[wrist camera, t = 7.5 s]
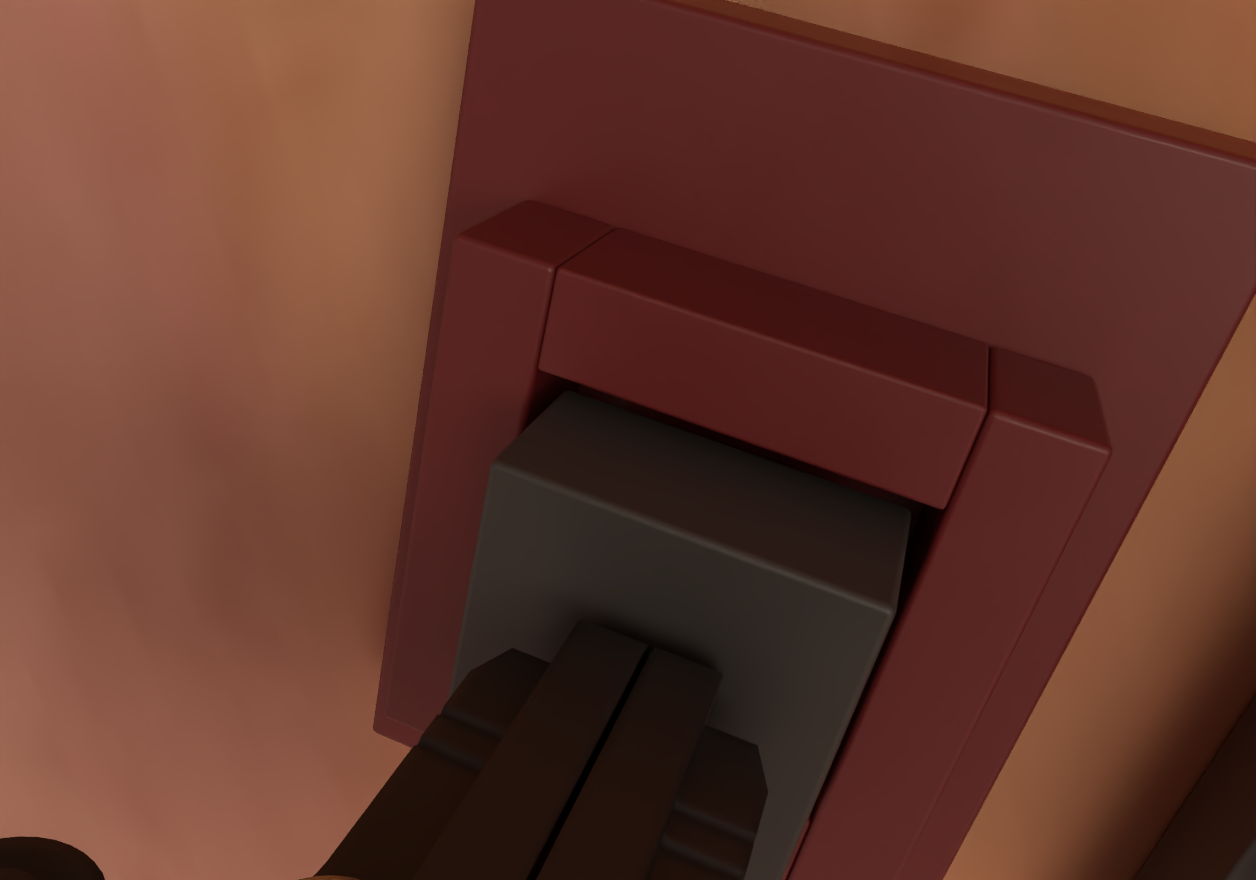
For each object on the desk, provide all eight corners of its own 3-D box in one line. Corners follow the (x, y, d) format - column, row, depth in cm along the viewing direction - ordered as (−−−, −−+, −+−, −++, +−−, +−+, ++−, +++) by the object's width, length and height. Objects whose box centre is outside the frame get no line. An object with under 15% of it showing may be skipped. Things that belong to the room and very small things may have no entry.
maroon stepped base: (546, -48, 13) (388, -55, 10) (1273, 147, 12) (1388, 220, 8) (427, 662, 19) (299, 817, 16) (911, 862, 17) (889, 1084, 14)
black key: (565, 385, 12) (487, 460, 10) (914, 508, 11) (898, 611, 9) (507, 658, 14) (433, 762, 12) (803, 778, 13) (771, 907, 11)
